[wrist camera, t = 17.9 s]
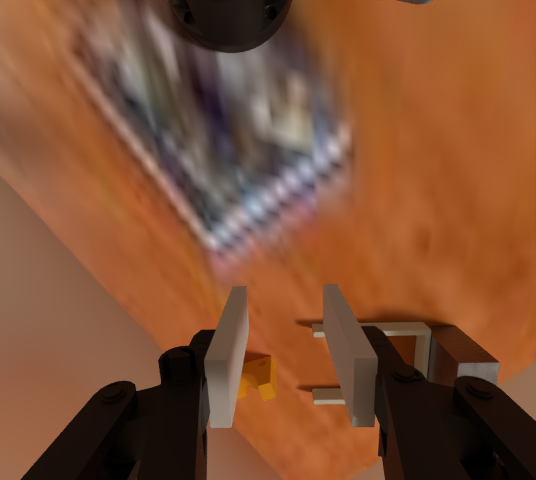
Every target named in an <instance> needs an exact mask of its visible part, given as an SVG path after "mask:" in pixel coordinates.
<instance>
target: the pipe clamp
mask: <svg viewBox="0 0 536 480" xmlns="http://www.w3.org/2000/svg"><path fill="white" fill-rule="evenodd" d="M248 387H254V388H256V389H258V390H259V391H260V394H261V396H262V399H263V401H265V400H269V399H273V398H276V367H275V364H274V362H273V359H272V356H267V357H264V358H260V359H257V360H253V361H250V362H246V363H243V367H242V372H241V378H240V384H239V389H238V395H237V399H240V398H242V397H246V396H247V391H248Z"/></svg>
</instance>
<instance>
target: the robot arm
mask: <svg viewBox="0 0 536 480" xmlns="http://www.w3.org/2000/svg"><path fill="white" fill-rule="evenodd" d="M397 1H402V2H406V3H411V4H425V3H428V2H430V1H432V0H397ZM169 2H170V4H171V6H172V9H173V10H174V12H175V14H176V15H177V17H178V19H179V20H180V22H181V23H182V25H183V26H184V28H185V29H186V30H187V31H188V33H189V34H190V35H191V36H192V37H193V38H195V39H196V40H197V41H198V42H200V43H201V44H203V45H204V46H206V47H208V48H211V49H213V50H216V51H220V52H225V53H239V52H244V51H248V50H251V49H254V48H256V47H258V46H260V45H261V44H263V43H264V42H266V41H267V40H268V39H269V38H270V37H272V36H273V35H274V33H275V32H276V31H277V30H278V29H279V27H280V26H281V24H282V23H283V21H284V19H285V18H286V16H287V13H288V11H289V8H290V6H291V2H292V0H169ZM323 331H324V334H325V338H326V341H327V344H328V347H329V351H330V354H331V357H332V361H333V364H334V367H335V371H336V374H337V377H338V381H339V384H340V387H341V391H342V394H343V397H344V401H345V404H346V407H347V411H348V414H349V417H350V421H351V424H352V427H374V423H375V414H376V417H377V419H378V422H379V424H380V431H379V449H378V456H382V461H383V467H384V475H385V480H536V421H535V420H534V419H533V418H532V417H531V416H529V415H528V414H527V413H526V412H525V411H524V410H523V409H521V407H520V406H519V405H517V404H516V403H515V402H514V401H513V400H512V399H511V398H510V397H509V396H508V395H507V394H506V393H505V392H503V391H502V390H501V389H500V388H498V387H497V386H496V385H494V384H493V383H491V382H489V381H487V380H485V379H482V378H478V377H475V376H466V375H465V376H460V377H457V378H456V379H455V380H454V387H451V386H446V385H441V384H436V383H432V382H429V381H427V380H426V378H425V376H424V375H423V373H422V372H420V371H419V370H418V369H416V368H414V367H412V366H410V365H407V364H405V362H404V361H403V359H402V358H401V356H400V355H399V354H398V352H397V351H396V349H395V348H394V346H393V345H392V343H391V342H390V340H389V339H388V337H387V336H386V335H385V333H384V332H383V331H382V330H380V329H379V328H377V327H376V326H360V325H359V323H358V321H357V319H356V317H355V316H354V314H353V312H352V310H351V308H350V307H349V305H348V303H347V301H346V299H345V298H344V296H343V294H342V292H341V290H340V289H339V287H338V285H337V284H323ZM248 333H249V321H248V304H247V286H239V287H233V288H232V290H231V293H230V296H229V298H228V301H227V303H226V306H225V308H224V311H223V313H222V316H221V318H220V321H219V323H218V326H217V328H216V330H201V331H199V332H198V333H197V334H196V335H194V336H193V338H192V340H191V342H190V344H189V346H179V347H175V348H172V349H170V350H168V351H166V352H165V353H163V354H162V355H161V356H160V358H159V360H158V362H159V369H160V376H161V384H160V385H158V386H155V387H152V388H148V389H144V390H140V391H136V387H135V384H133V383H132V382H129V381H118V382H114V383H111V384H109V385H107V386H105V387H103V388H101V389H100V390H99V391H98V392H97V393H95V394H94V395H93V396H92V398H91V399H90V400H89V401H88V402H87V404H86V405H85V406H84V407H83V408H82V409H81V410H80V412H79V413H78V414H77V415H76V416H75V417H74V418H73V420H72V421H71V422H70V423H69V424H68V425H67V426H66V428H65V429H64V430H63V432H61V433H60V435H59V436H58V437H57V438H56V439H55V440H54V442H53V443H52V444H51V445H50V446H49V447H48V448H47V450H46V451H45V452H44V453H43V454H42V455H41V457H40V458H39V459H38V460H37V461H36V462H35V463H34V465H33V466H32V467H31V468H30V469H29V470H28V472H27V473H26V474H25V475H24V476H23V477H22V479H21V480H206V478H207V477H206V476H207V430H206V426H207V422H208V419H209V418H210V427H211V428H231V427H232V423H233V417H234V411H235V406H236V400H237V395H238V389H239V384H240V378H241V372H242V367H243V361H244V356H245V350H246V345H247V339H248ZM136 478H137V479H136Z"/></svg>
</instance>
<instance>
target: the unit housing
mask: <svg viewBox="0 0 536 480" xmlns="http://www.w3.org/2000/svg"><path fill="white" fill-rule="evenodd" d="M428 327H429V328H430V329H431V339H430V349H429V360H428V370H427V381H429V382H432V383H436V384H441V385H446V386H451V387H454V380H455V379H456V378H457V377H460V376H465V375H466V376H475V377H478V378H482V379H485V380H487V381H489V382H491V383H493V384H494V385H496V384H497V378H498V371H499V365H500V362H499V361H497V360H496V359H495V358H494V357H493V356H491V355H490V354H489V353H488V352H487V351H485V350H484V349H483V348H482V347H481V346H479V345H478V344H477V343H476V342H475V341H473V340H472V339H471V338H470V337H469V336H467V335H466V334H465V333H464V332H463V331H461V330H460V329H459V328H458V327H457V326H428Z"/></svg>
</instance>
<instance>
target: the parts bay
mask: <svg viewBox="0 0 536 480" xmlns="http://www.w3.org/2000/svg"><path fill="white" fill-rule="evenodd" d="M359 325H360V326H376V327H377V328H379V329H380V330H382V331H383V332H384V333H385V335H386V336H409V335H416V347H415V359H414V368H416V369H418V370H419V371H420V372H422V373H423V375H424V376H425V378H426V380H427V370H428V360H429V349H430V339H431V329H430V328H429V327H428V326H427V325H426V324H425V323H424V322H384V323H359ZM312 332H313V336H314V337H325V334H324V331H323V324H312ZM312 395H313V402H314V404H345V401H344V397H343V394H342V391H341V388H312Z"/></svg>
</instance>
